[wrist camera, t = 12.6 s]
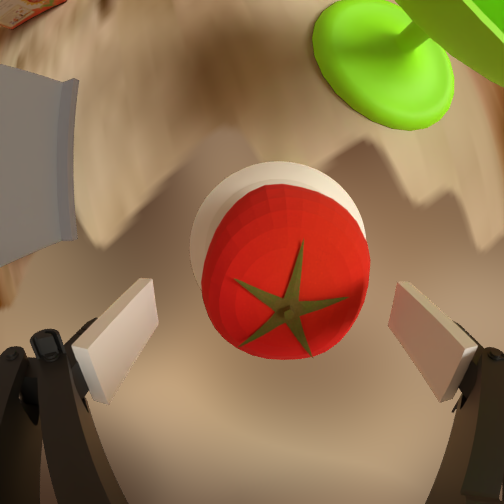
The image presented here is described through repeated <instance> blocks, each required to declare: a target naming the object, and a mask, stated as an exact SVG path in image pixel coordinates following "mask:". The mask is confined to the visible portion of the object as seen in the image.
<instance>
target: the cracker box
mask: <svg viewBox="0 0 504 504" xmlns="http://www.w3.org/2000/svg"><path fill="white" fill-rule="evenodd" d="M65 1H67V0H0V25H1V26H3V27H6V28H9V29H11V30H12V29H14V28H16V27H17V26H19V25H20V24H22V23H24V22H26V21H27V20H29V19H31V18H33V17H34V16H36V15H38V14H40V13H42V12H44V11H46V10H48V9H50V8H52V7H54V6H56V5H58V4H60V3H62V2H65Z"/></svg>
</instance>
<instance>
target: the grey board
mask: <svg viewBox="0 0 504 504" xmlns="http://www.w3.org/2000/svg"><path fill="white" fill-rule="evenodd" d="M78 84H79V80H77V79H75V78H73V79H71V80H68V81H65V82H60V81H57V80H54V79H51V78H48V77H44V76H41V75H38V74H35V73H31V72H28V71H24V70H21V69H17V68H14V67H10V66H6V65H2V64H0V267H2V266H4V265H6V264H8V263H11V262H13V261H15V260H17V259H20V258H22V257H24V256H26V255H29V254H31V253H33V252H36V251H38V250H40V249H42V248H45V247H47V246H50V245H52V244H55V243H57V242H60V241H73V240H76V239H78V238H77V229H76V218H75V205H74V186H73V141H74V122H75V110H76V100H77V91H78Z"/></svg>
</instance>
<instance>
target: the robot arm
mask: <svg viewBox="0 0 504 504" xmlns="http://www.w3.org/2000/svg"><path fill="white" fill-rule="evenodd" d="M158 324H159V321H158V316H157V308H156V301H155V294H154V287H153V279H150V278H139V279H138V280H137V281H136V282H135V283H134V284H133V285H132V286H131V287H130V288H129V289H127V290H126V291H125V292H124V293H123V294H122V295H121V296H120V297H119V298H118V299H117V300H116V301H115V302H114V303H113V304H112V305H111V306H110V307H109V308H108V309H107V310H106V311H105V312H104V313H103V314H102V315H101V316H100V317H99V318H94V319H92V320H91V321H89V322H87V323H86V324H85V325H84V326H83V327H82V328H81V329H80V330H79V331H78V332H77V333H76V334H75V335H74V336H73V337H72V338H71V339H70V340H69V341H68V342H67V343H66V344H65V345H63V342H62V340H61V337H60V334H59V332H58V331H57V330H55V329H44V330H41V331H39V332H37V333H35V334H34V335H33V336H32V337H31V339H30V343H31V346H32V348H33V351H34V353H35V355H36V358H30V357H27V356H26V353H25V351H24V349H23V348H21V347H17V346H15V347H10V348H7V349H6V350H5V351H4V352H3V353H2V354H1V355H0V504H40V464H41V450H42V440H43V443H44V449H45V454H46V459H47V464H48V468H49V473H50V477H51V481H52V485H53V488H54V492H55V495H56V499H57V502H58V504H128V502H127V500H126V498H125V496H124V494H123V492H122V490H121V488H120V486H119V484H118V482H117V480H116V478H115V476H114V473H113V471H112V469H111V466H110V464H109V462H108V460H107V457H106V455H105V453H104V449H103V447H102V444H101V442H100V439H99V436H98V434H97V431H96V428H95V425H94V422H93V419H92V416H91V412H90V409H89V406H88V402H87V400H86V398H85V395H86V394H87V392H88V391H90V394H91V396H92V398H93V400H94V401H97V402H101V403H104V404H108V405H109V404H110V402H111V401H112V399H113V397H114V396H115V394H116V392H117V391H118V389H119V387H120V385H121V384H122V382H123V381H124V379H125V377H126V376H127V374H128V372H129V370H130V369H131V367H132V366H133V364H134V363H135V361H136V359H137V358H138V356H139V354H140V353H141V351H142V350H143V348H144V346H145V345H146V343H147V341H148V340H149V339H150V337H151V335H152V334H153V332H154V331H155V329H156V328H157V326H158ZM388 327H389V328H390V329H391V331H392V332H393V334H394V335H395V336H396V338H397V339H398V341H399V342H400V344H401V345H402V346H403V348H404V349H405V351H406V352H407V354H408V355H409V357H410V358H411V360H412V361H413V363H414V364H415V365H416V367H417V368H418V370H419V371H420V373H421V374H422V376H423V377H424V379H425V381H426V382H427V384H428V385H429V387H430V388H431V390H432V391H433V393H434V395H435V396H436V398H437V399H438V401H439V402H443V401H447V400H450V399H453V397H454V395H455V393H456V392H457V390H458V388H459V389H460V390H461V392H462V394H461V396H460V398H459V400H458V401H457V403H456V405H455V406H454V408H453V410H452V412H454V411H455V409H457V410H456V415H455V419H454V423H453V427H452V431H451V435H450V438H449V441H448V445H447V448H446V451H445V454H444V457H443V460H442V463H441V466H440V469H439V471H438V474H437V477H436V479H435V482H434V484H433V487H432V489H431V491H430V494H429V496H428V498H427V501H426V503H425V504H504V354H503V352H502V351H500V350H499V349H496V348H492V347H487V348H485V349H484V348H483V347H482V346H481V345H480V344H479V343H478V342H477V341H476V340H475V339H474V338H473V337H472V336H471V335H469V333H468V332H467V331H465V329H464V328H463V327H462V326H461V325H459V324H458V323H456V322H454V321H453V320H451V319H450V318H449V317H448V316H447V315H446V314H445V313H444V312H442V311H441V310H440V309H439V308H438V307H437V306H436V305H435V304H433V302H431V301H430V300H429V299H428V298H427V297H426V296H425V295H424V294H422V293H421V292H420V291H419V290H418V289H417V288H415V287H414V286H413V285H412V284H411V283H410V282H397V286H396V291H395V296H394V301H393V305H392V310H391V314H390V319H389V323H388ZM501 485H503V495H502V501H500V500H499V494H500V489H501Z"/></svg>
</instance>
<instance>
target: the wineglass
mask: <svg viewBox="0 0 504 504" xmlns="http://www.w3.org/2000/svg"><path fill="white" fill-rule="evenodd" d="M395 1H396V2H397V4H398V5H399V6H398V5H395V4H393V3H391V2H388V1H385V0H341V1H337V2H335V3H334V4H332V5H331V6H329V7H328V8H326V9H325V10H324V11H323V12H322V13H321V15H320V16H319V18H318V19H317V21H316V22H315V25H314V30H313V35H312V43H313V50H314V57H315V59H316V61H317V63H318V66H319V68H320V70H321V73H322V75H323V76H324V78H325V79H326V80H327V82H328V83H329V84H330V86H331V87H332V88H333V90H334V91H335V93H336V94H337V95H339V96H340V97H341V98H342V99H343V100H344V101H345V102H346V103H347V104H348V105H349V106H350V107H351V108H352V109H354V110H355V111H357V112H359V113H360V114H362V115H363V116H365V117H367V118H368V119H370V120H371V121H373V122H376V123H379V124H381V125H384V126H387V127H389V128H392V129H400V130H408V131H413V130H418V129H424V128H428V127H429V126H431V125H433V124H434V123H436V122H438V121H439V120H440V119H441V118H442V117H443V116H444V114H445V113H446V112H447V111H448V109H449V107H450V104H451V101H452V98H453V95H454V75H453V71H452V66H451V62H450V60H449V58H448V56H447V53H446V51H447V52H448V53H449V54H450V55H452V56H453V57H455V58H456V59H458V60H459V61H461V62H462V63H464V64H465V65H467V66H468V67H470V68H471V69H473V70H475V71H476V72H478V73H479V74H481V75H482V76H484V77H485V78H487V79H488V80H490V81H491V82H494V83H496V84H498V85H500V86H502V87H504V0H395ZM445 50H446V51H445Z"/></svg>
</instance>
